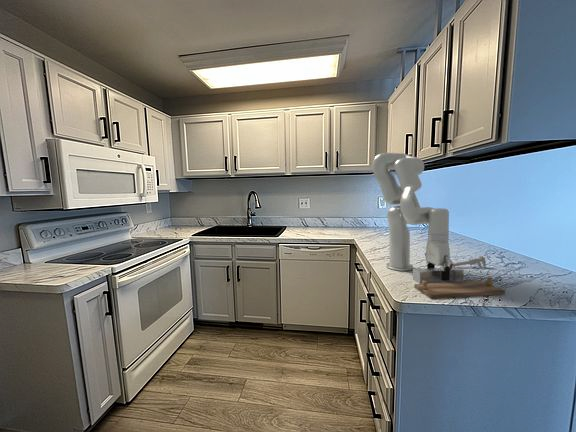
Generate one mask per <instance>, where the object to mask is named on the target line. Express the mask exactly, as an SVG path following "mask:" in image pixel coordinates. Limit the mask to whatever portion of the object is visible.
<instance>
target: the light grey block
mask: <svg viewBox="0 0 576 432" xmlns="http://www.w3.org/2000/svg"><path fill="white" fill-rule="evenodd" d="M441 271H442V268H441V267H435V268H430V269H427V268H421V267H417V268H413V269H412V281H415V282H416V284H422V281H427V283H443V282H461V281H464V280H465V279H464V278H465V277H464V273H465V272H464V271H465V270H464V269H462V268H459V267H458V266H453V267H452V269H451V271H450V277H449V280H447V281H442V280H441Z"/></svg>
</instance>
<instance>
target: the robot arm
mask: <svg viewBox="0 0 576 432" xmlns="http://www.w3.org/2000/svg"><path fill="white" fill-rule="evenodd" d="M390 170H394V171H395V174H396V177H397V179H396V177H395V175H394V174H393V173H392V172H391V171H390ZM424 170H425V164H424V161H423V159H420V158H419V157H416V156H412V155H411V154H410V155H409V154H406V153H399V152H395V153H394V152H383V153H382V152H381V153H379V154H377V155H376V156H375V157H374V159H373V162H372V172H373V175H374V176H375V179H376V181H377V182H378V184H379V187H380V191H381V194H382V196H383V200H384V201H385V203H386V204H387V205H390V206H392V207H391V208H389V209H388V211H387V214H386V218H387V222H388V231H389V235H388V236H389V237H388V239H389V240H388V241H389V243H388V245H389V248H388V249H389V251H388V253H389V254H388V255H389V256H388V259H389V262H387V263H386V265H385V267H386V268H387V269H389V270H393V271H397V272H398V271H400V272H403V271H405V272H406V271H411V270H412V271H413V269H414V266H413V264H411V255H410V254H411V252H410V249H411V247H410V245H411V243H410V242H411V237H410V236H411V234H410V230H409V228H408V226H407V225H413V226H417V225H418V226H419V225H427V224H428V225H427V227H428V229H427V231H428V233H427V235H428V236H427V237H428V238H427V241H426V249H425V253H424V255H425V260H426V269H430V268H436V266H437V267H438V266H439V267H440V268H442V271H441V280H442V281H447V280H449V277H450V271H451V269H452V266H453V263H454V262H453V261H452V260H451V254H450V253H451V252H450V250H451V249H450V243H449V238H450V237H449V235H450V234H449V229H450V212H449V209H447V208H443V207H442V208H438V207H437V208H436V207H435V208H434V207H429V206H428V207H427V206H425V207H424V206H423V207H421V205H420V203H419V200H418V197H417V195H416V193H415V192H417V191H418V190H420V189H421V188H422V186H423V184H422V181H421V179H420V176H419V175H421V174H422V173H424ZM397 180H398V182H399V184H400V185H399V184H398V182H397ZM444 266H446V267H445V268H444Z"/></svg>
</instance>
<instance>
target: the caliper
mask: <svg viewBox="0 0 576 432" xmlns="http://www.w3.org/2000/svg"><path fill="white" fill-rule="evenodd" d="M476 264H477V266H478V268H482V267H483V268H486V267H487V266H486V265H487V262H486V258H485V257H484V256H483V254H481V255H478V257H474V258H470V259H468V260H464V261H459V262H458V261H456V262H453V266H455V267H458V266H459V267H460V266H464V265H470V266H473V265H474V266H475V265H476ZM453 266H452V267H453ZM445 267H446V266H444V268H445Z"/></svg>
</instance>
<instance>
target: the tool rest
mask: <svg viewBox="0 0 576 432" xmlns="http://www.w3.org/2000/svg"><path fill="white" fill-rule="evenodd" d="M413 286H414V289H416V290H417V291H419V292H420V293H421V294H423V295H425V296H426V297H428V298H429V299H434V300H435V299H448V298H450V299H451V298H465V297H478V296H479V297H481V296H496V295H505V294H506V293H505V290H504V289H502V288H500V287H497V286H496V285H493V277H492V276H487V278H486V281H483V280H465V281H464V280H463V281H461V282H454V281H449V282H431V283H427V281H422V284H419V283H414V285H413Z"/></svg>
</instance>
